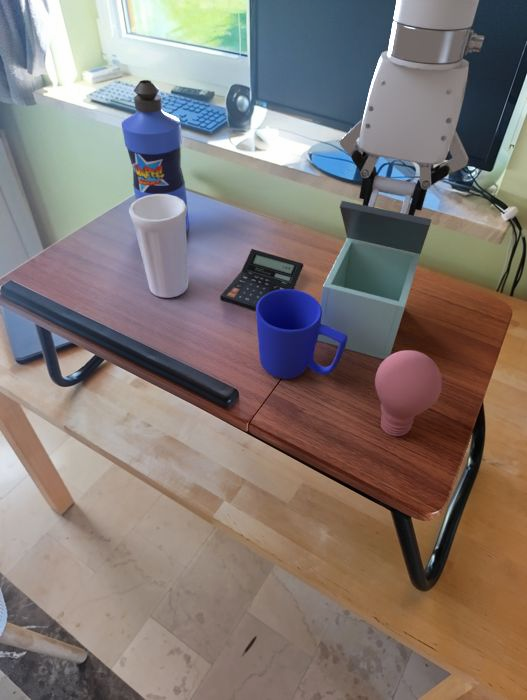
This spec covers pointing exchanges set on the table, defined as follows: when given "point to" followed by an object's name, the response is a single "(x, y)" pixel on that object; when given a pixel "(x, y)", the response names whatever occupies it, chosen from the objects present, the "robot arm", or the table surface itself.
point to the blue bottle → (154, 146)
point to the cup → (162, 242)
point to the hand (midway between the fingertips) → (389, 207)
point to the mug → (292, 333)
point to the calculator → (261, 279)
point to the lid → (386, 219)
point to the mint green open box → (367, 296)
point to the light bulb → (406, 389)
